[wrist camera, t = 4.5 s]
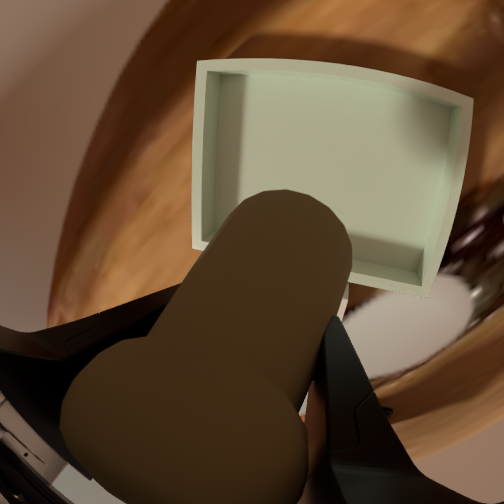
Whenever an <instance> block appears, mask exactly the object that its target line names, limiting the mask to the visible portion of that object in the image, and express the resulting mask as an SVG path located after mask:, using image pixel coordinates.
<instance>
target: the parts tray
mask: <svg viewBox="0 0 504 504" xmlns="http://www.w3.org/2000/svg"><path fill="white" fill-rule="evenodd" d="M473 101H474V99H473V98H471V97H468V96H466V95H463V94H460V93H457V92H455V91H452V90H449V89H446V88H443V87H440V86H437V85H434V84H430V83H427V82H423V81H420V80H416V79H413V78H409V77H405V76H401V75H397V74H393V73H388V72H383V71H379V70H374V69H368V68H363V67H357V66H351V65H344V64H336V63H328V62H319V61H308V60H294V59H271V58H242V59H218V60H204V61H197V70H196V84H195V100H194V120H193V148H192V248H193V249H197V250H202V251H204V249H205V248H206V247H207V245H208V244H209V242H210V241H211V239H212V238H213V237H214V235H215V234H216V232H217V231H218V229H219V228H220V227H221V225H222V224H223V222H224V221H225V220H226V218H227V217H228V215H229V214H230V213H231V212H232V211H233V210H234V209H235V208H236V207H237V206H238V205H239V204H240V203H241V202H242V201H243V200H244V199H246V198H249V197H251V196H253V195H255V194H258V193H260V192H262V191H269V190H282V189H288V190H292V191H296V192H300V193H304V194H308V195H310V196H312V197H314V198H315V199H317V200H318V201H320V202H322V203H323V204H325V205H326V206H328V207H329V208H330V209H331V210H332V211H333V212H334V213H335V215H336V216H337V217H338V218H339V219H340V221H341V222H342V223H343V224H344V226H345V228H346V231H347V234H348V236H349V239H350V242H351V244H352V269H351V272H350V276H349V279H348V282H351V283H356V284H360V285H365V286H370V287H375V288H380V289H385V290H390V291H394V292H399V293H405V294H410V295H414V296H420V297H424V298H427V297H428V295H429V292H430V290H431V287H432V285H433V282H434V280H435V277H436V274H437V272H438V269H439V266H440V263H441V260H442V257H443V254H444V251H445V248H446V245H447V242H448V239H449V235H450V232H451V228H452V225H453V221H454V218H455V214H456V210H457V206H458V202H459V197H460V193H461V189H462V184H463V179H464V174H465V168H466V163H467V156H468V150H469V143H470V135H471V126H472V115H473Z"/></svg>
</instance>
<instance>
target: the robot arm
mask: <svg viewBox="0 0 504 504" xmlns="http://www.w3.org/2000/svg"><path fill="white" fill-rule="evenodd" d="M180 285H181V283H180V284H177V285H174V286H172V287H169V288H166V289H163V290H161V291H158V292H155V293H152V294H149V295H147V296H144V297H141V298H138V299H136V300H133V301H130V302H127V303H125V304H122V305H119V306H116V307H113V308H111V309H108V310H105V311H102V312H100V313H97V314H94V315H91V316H88V317H85V318H82V319H79V320H76V321H73V322H69V323H66V324H62V325H59V326H55V327H51V328H47V329H44V330H40V331H36V332H30V333H27V332H19V331H15V330H12V329H9V328H6V327H3V326H1V325H0V504H74V503H73V502H71V501H70V500H69V499H68V498H66V497H65V496H64V495H63V494H62V493H60V492H59V491H58V490H57V489H55V488H54V487H53V486H52V484H53V483H54V481H55V480H56V479H57V477H58V476H59V475H60V474H61V472H62V471H63V470H64V468H65V467H66V466H67V465H70V466H71V467H72V468H73V469H75V470H76V471H77V472H79V473H80V474H82V475H83V476H84V477H85V478H87V479H88V480H90V481H91V480H92V477H91V476H90V475H89V474H88V472H87V471H86V470H85V469H84V468H83V467H82V465H81V464H80V463H79V462H78V461H77V459H76V458H75V457H74V456H73V454H72V453H71V452H70V451H69V449H68V448H67V446H66V444H65V441H64V439H63V436H62V433H61V431H60V428H59V425H60V415H61V406H62V401H63V399H64V397H65V395H66V393H67V391H68V389H69V387H70V385H71V383H72V381H73V380H74V379H75V377H76V376H77V375H78V374H79V373H80V372H81V371H82V370H83V369H84V368H85V367H86V366H87V365H88V364H89V363H90V362H91V361H92V360H93V359H94V358H95V357H96V356H97V355H98V354H99V353H100V352H102V351H104V350H105V349H107V348H109V347H111V346H113V345H114V344H116V343H118V342H120V341H122V340H127V339H134V338H140V337H147V335H148V333H149V332H150V330H151V329H152V327H153V326H154V324H155V323H156V321H157V319H158V318H159V316H160V315H161V313H162V312H163V310H164V309H165V307H166V306H167V304H168V303H169V301H170V300H171V298H172V297H173V295H174V294H175V292H176V291H177V289H178V288H179V286H180ZM373 391H374V390H373V388H372V385H371V383H370V381H369V379H368V377H367V375H366V373H365V370H364V368H363V366H362V364H361V362H360V359H359V358H358V355H357V353H356V351H355V349H354V347H353V345H352V343H351V341H350V338H349V337H348V334H347V332H346V330H345V328H344V326H343V324H342V322H341V320H340V318H339V317H338V316H335V315H333V316H332V318H331V320H330V322H329V324H328V326H327V328H326V330H325V332H324V334H323V337H322V341H321V347H320V353H319V359H318V365H317V371H316V373H315V376H314V378H313V381H312V383H311V385H310V388H309V391H308V399H307V407H306V414H305V422H304V424H305V426H306V428H307V433H308V453H309V472H308V476H307V480H306V484H305V488H304V492H303V495H302V497H301V499H300V500H299V502H298V503H297V504H486V503H480V502H477V501H474V500H472V499H470V498H468V497H465V496H463V495H461V494H459V493H457V492H455V491H453V490H451V489H449V488H447V487H445V486H443V485H441V484H439V483H437V482H435V481H433V480H432V479H430V478H428V477H426V476H425V475H424V474H422V473H421V472H420V471H419V470H418V469H417V467H416V466H415V465H414V463H413V462H412V460H411V458H410V457H409V455H408V453H407V452H406V450H405V448H404V446H403V445H402V443H401V441H400V440H399V438H398V436H397V435H396V433H395V431H394V430H393V428H392V426H391V424H390V423H389V421H388V419H389V418H390V417H391V415H392V414H393V410H392V409H388V408H382V407H381V405H380V403H379V401H378V399H377V396H376V394H375V392H373ZM496 504H504V501H503V502H500V503H496Z"/></svg>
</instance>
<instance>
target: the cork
mask: <svg viewBox="0 0 504 504" xmlns="http://www.w3.org/2000/svg"><path fill="white" fill-rule="evenodd" d="M351 269H352V244H351V242H350V239H349V236H348V234H347V231H346V228H345V226H344V224H343V223H342V222H341V221H340V219H339V218H338V217H337V216H336V215H335V213H334V212H333V211H332V210H331V209H330V208H329V207H328V206H326V205H325V204H323V203H322V202H320V201H318V200H317V199H315V198H314V197H312V196H310V195H308V194H304V193H300V192H296V191H292V190H288V189H282V190H269V191H262V192H260V193H258V194H255V195H253V196H251V197H249V198H246V199H244V200H243V201H242V202H241V203H240V204H239V205H238V206H237V207H236V208H235V209H234V210H233V211H232V212H231V213H230V214H229V215H228V217H227V218H226V220H225V221H224V222H223V224H222V225H221V227H220V228H219V229H218V231H217V232H216V234H215V235H214V237H213V238H212V239H211V241H210V242H209V244H208V245H207V247H206V248H205V249H204V251H203V252H202V254H201V255H200V257H199V258H198V260H197V261H196V262H195V264H194V265H193V267H192V268H191V270H190V271H189V273H188V274H187V276H186V277H185V279H184V280H183V282H182V283H181V285H180V286H179V288H178V289H177V291H176V292H175V294H174V295H173V297H172V298H171V300H170V301H169V303H168V304H167V306H166V307H165V309H164V310H163V312H162V313H161V315H160V316H159V318H158V319H157V321H156V323H155V324H154V326H153V327H152V329H151V330H150V332H149V333H148V335H147V337H140V338H134V339H127V340H122V341H120V342H118V343H116V344H114V345H113V346H111V347H109V348H107V349H105V350H104V351H102V352H100V353H99V354H98V355H97V356H96V357H95V358H94V359H93V360H92V361H91V362H90V363H89V364H88V365H87V366H86V367H85V368H84V369H83V370H82V371H81V372H80V373H79V374H78V375H77V376H76V377H75V379H74V380H73V381H72V383H71V385H70V387H69V389H68V391H67V393H66V395H65V397H64V399H63V401H62V406H61V415H60V425H59V428H60V431H61V433H62V436H63V439H64V441H65V444H66V446H67V448H68V449H69V451H70V452H71V453H72V454H73V456H74V457H75V458H76V459H77V461H78V462H79V463H80V464H81V465H82V467H83V468H84V469H85V470H86V471H87V472H88V474H89V475H90V476H91V477H92V478H93V479H94V480H95V481H96V482H98V483H99V484H100V485H101V486H102V487H103V488H104V489H105V490H107V491H108V492H109V493H110V494H112V495H113V496H115V497H116V498H118V499H119V500H121V501H123V502H124V503H126V504H297V503H298V502H299V500H300V499H301V497H302V495H303V492H304V488H305V484H306V480H307V476H308V472H309V453H308V433H307V428H306V426H305V424H304V423H303V421H302V419H301V417H300V416H299V414H298V413H299V411H300V409H301V406H302V404H303V402H304V399H305V397H306V395H307V392H308V390H309V388H310V385H311V383H312V381H313V378H314V376H315V373H316V371H317V365H318V359H319V353H320V347H321V341H322V337H323V334H324V332H325V330H326V328H327V326H328V324H329V322H330V320H331V318H332V316H333V315H335V316H337V313H338V311H339V308H340V304H341V301H342V298H343V295H344V292H345V289H346V286H347V282H348V279H349V276H350V272H351Z"/></svg>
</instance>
